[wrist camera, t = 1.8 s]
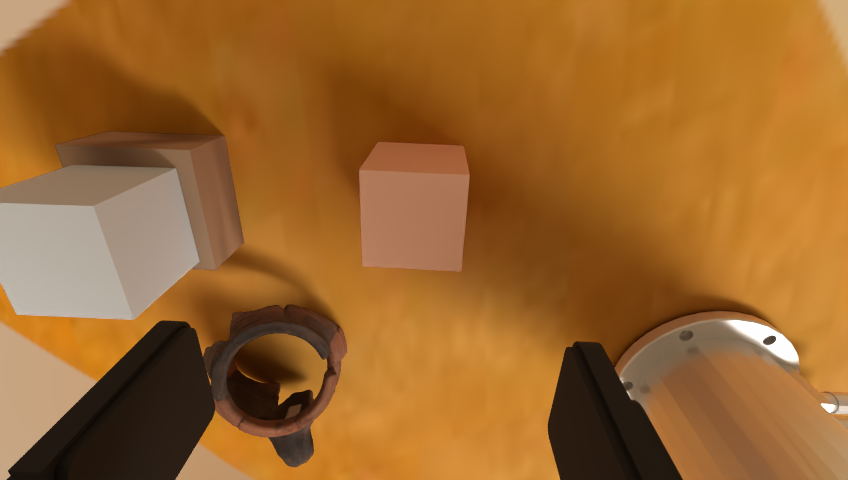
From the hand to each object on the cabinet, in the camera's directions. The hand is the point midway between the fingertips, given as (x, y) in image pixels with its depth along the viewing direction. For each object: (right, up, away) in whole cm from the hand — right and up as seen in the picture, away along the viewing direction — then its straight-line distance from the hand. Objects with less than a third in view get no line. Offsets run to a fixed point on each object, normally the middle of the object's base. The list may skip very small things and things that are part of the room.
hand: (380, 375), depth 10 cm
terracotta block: (+1, +7, +14) cm, 16 cm away
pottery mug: (-9, -5, +21) cm, 23 cm away
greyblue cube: (-14, +5, +12) cm, 19 cm away
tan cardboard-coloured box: (-14, +7, +15) cm, 22 cm away
